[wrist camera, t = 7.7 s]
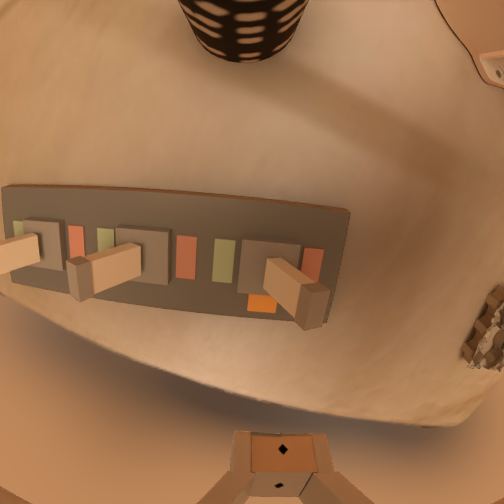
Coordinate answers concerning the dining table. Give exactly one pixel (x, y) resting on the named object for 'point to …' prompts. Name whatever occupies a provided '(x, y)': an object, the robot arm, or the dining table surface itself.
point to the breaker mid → (103, 270)
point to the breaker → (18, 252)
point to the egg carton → (488, 335)
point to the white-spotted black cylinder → (243, 26)
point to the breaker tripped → (296, 293)
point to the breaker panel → (178, 243)
